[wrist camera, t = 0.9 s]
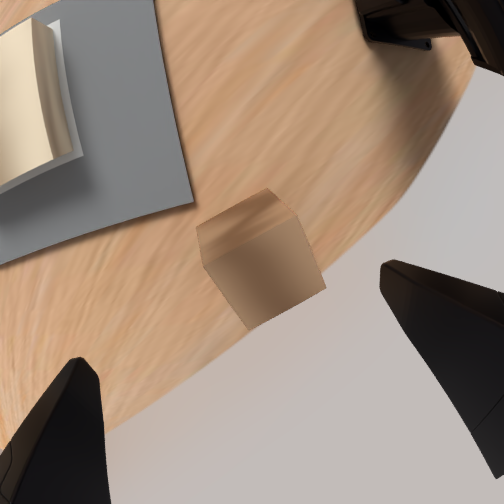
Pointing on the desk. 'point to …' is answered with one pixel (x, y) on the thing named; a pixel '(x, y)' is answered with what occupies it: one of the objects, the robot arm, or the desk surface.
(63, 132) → the maple slab
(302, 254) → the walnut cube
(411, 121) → the desk surface
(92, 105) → the build mat
